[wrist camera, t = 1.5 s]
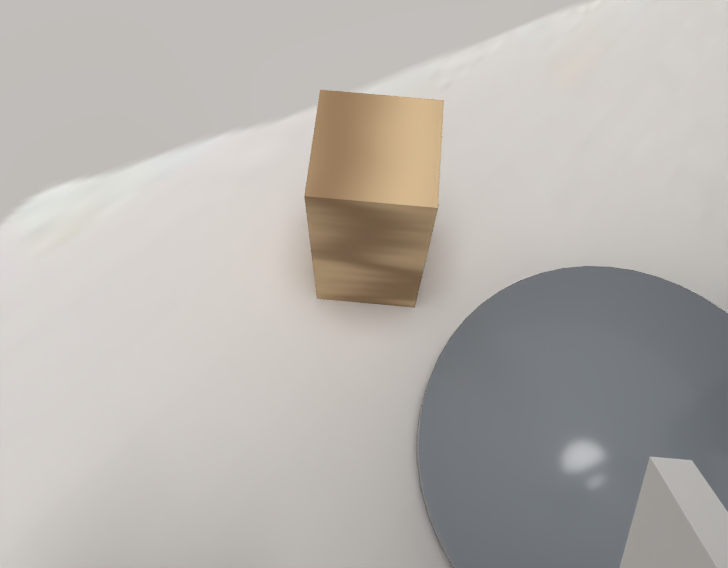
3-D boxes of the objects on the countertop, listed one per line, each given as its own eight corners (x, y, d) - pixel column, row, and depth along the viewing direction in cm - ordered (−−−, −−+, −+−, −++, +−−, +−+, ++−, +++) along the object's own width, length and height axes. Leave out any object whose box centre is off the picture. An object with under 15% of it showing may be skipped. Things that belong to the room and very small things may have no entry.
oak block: (420, 221, 36) (443, 100, 27) (414, 307, 34) (437, 207, 25) (328, 213, 36) (320, 89, 27) (317, 298, 34) (304, 196, 25)
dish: (773, 294, 35) (791, 283, 33) (841, 697, 27) (867, 704, 26) (426, 263, 35) (430, 250, 34) (403, 652, 28) (406, 657, 26)
